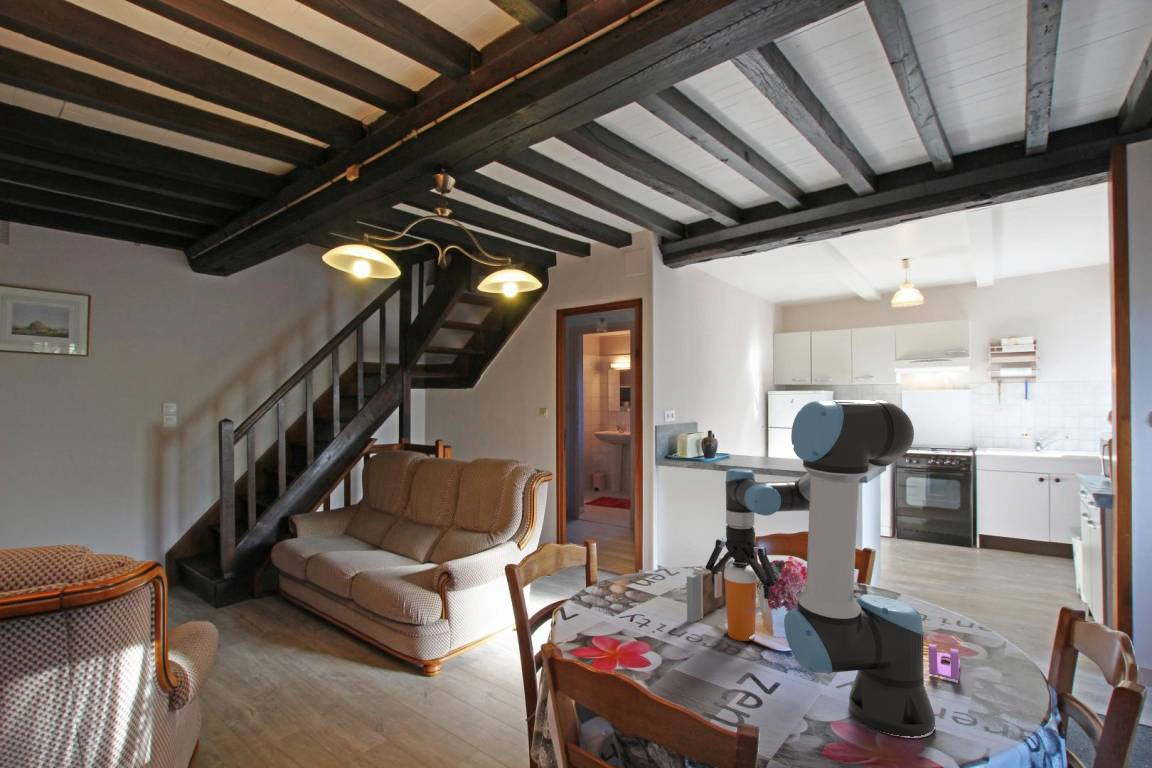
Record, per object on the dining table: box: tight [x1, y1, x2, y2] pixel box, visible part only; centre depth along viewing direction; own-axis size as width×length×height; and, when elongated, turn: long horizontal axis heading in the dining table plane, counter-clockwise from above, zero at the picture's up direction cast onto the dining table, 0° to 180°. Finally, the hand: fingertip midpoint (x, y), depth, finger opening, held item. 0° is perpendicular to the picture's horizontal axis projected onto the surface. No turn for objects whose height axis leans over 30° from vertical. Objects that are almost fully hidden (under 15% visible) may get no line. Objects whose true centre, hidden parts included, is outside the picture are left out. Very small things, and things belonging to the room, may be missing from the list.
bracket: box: [928, 643, 961, 680], centre depth 130 cm, size 13×6×7 cm, turn 143°
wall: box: [686, 556, 734, 624], centre depth 166 cm, size 24×3×14 cm, turn 136°
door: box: [703, 567, 725, 616], centre depth 166 cm, size 13×2×12 cm, turn 136°
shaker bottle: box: [724, 559, 759, 642], centre depth 149 cm, size 9×9×20 cm
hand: (740, 603), depth 149 cm, fingers open, 13 cm apart
